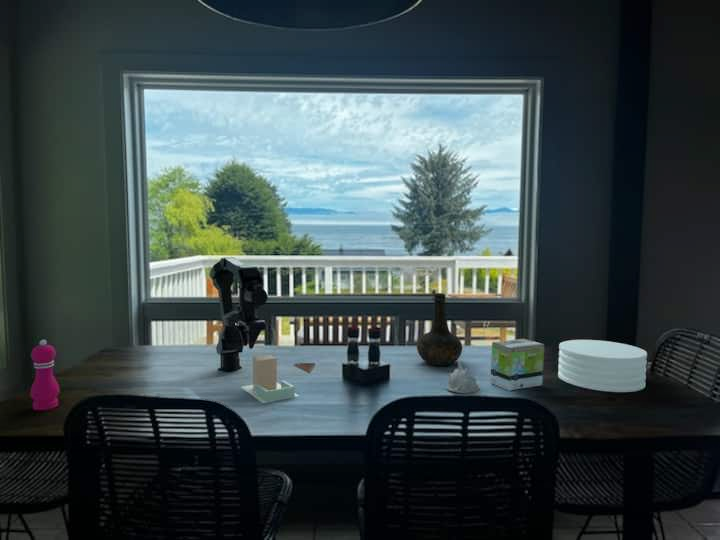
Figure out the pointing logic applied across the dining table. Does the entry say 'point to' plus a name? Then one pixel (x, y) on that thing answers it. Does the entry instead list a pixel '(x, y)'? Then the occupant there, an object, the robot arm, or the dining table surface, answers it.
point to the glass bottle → (439, 338)
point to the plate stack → (602, 365)
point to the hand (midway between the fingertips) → (248, 347)
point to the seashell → (462, 381)
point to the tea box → (517, 364)
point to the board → (272, 392)
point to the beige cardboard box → (265, 372)
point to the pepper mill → (44, 378)
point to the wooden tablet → (305, 366)
